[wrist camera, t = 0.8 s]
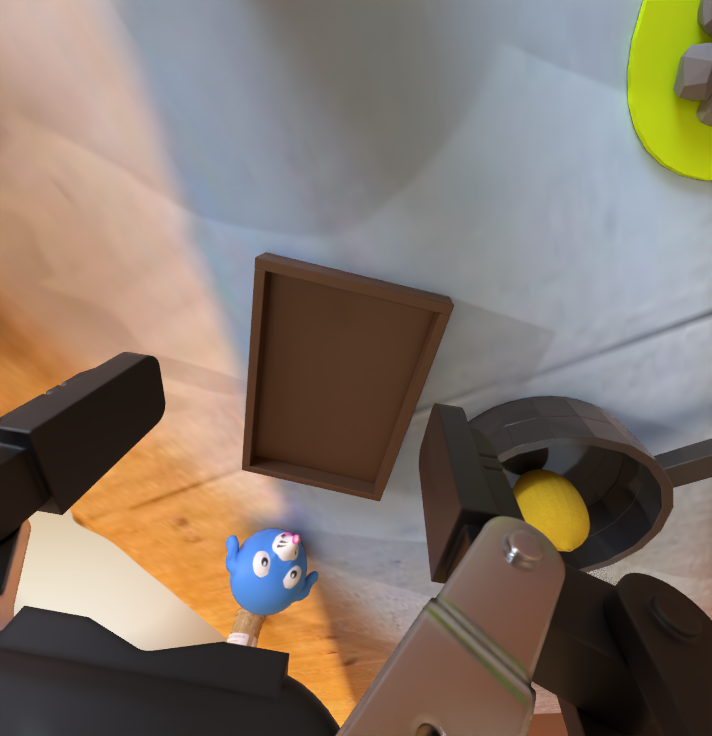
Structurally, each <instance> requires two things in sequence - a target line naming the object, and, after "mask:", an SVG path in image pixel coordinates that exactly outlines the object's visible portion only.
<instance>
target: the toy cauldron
mask: <svg viewBox="0 0 712 736" xmlns="http://www.w3.org/2000/svg"><path fill="white" fill-rule="evenodd" d="M627 86H628V105H629V109H630V113H631V117H632V121H633V125H634V128H635V131H636V133H637V135H638V136H639V138H640V140H641V142H642V144H643V145H644V147H645V149H646V150H647V151H648V152H649V153H650V154H651V155H652V156H653V157H654V158H655V159H656V160H657V161H658V162H659V163H660V164H661V165H662V166H664V167H666V168H667V169H669V170H671V171H673V172H675V173H677V174H679V175H681V176H684V177H689V178H693V179H698V180H702V181H712V0H644V1H643V3H642V6H641V10H640V13H639V17H638V20H637V24H636V27H635V31H634V34H633V37H632V41H631V49H630V56H629V64H628V71H627Z"/></svg>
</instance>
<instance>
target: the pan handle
mask: <svg viewBox="0 0 712 736" xmlns="http://www.w3.org/2000/svg"><path fill="white" fill-rule="evenodd" d="M653 457H654V458H655V459H656V460H657V461H658V462H659V463H660V464H661V466H662V468H663V469H664V471H665V472H666V474H667V475H668V477H669V479H670V480H671V482H672V484H673V488H674V487H678V486H681V485H685V484H689V483H692V482H696V481H699V480H703V479H707V478H710V477H712V439H708V440H705V441H702V442H699V443H695V444H692V445H689V446H686V447H682V448H679V449H676V450H673V451H669V452H666V453H663V454H660V455H656V456H653Z"/></svg>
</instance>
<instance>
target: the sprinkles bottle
mask: <svg viewBox="0 0 712 736" xmlns="http://www.w3.org/2000/svg"><path fill="white" fill-rule="evenodd" d="M264 620H265V617H264V615H256V614H253V613H250V612H248V611H247V610H245V609H244V608H242V609H239V610H238V612H237V615H236V619H235V622H234V624H233V628H232V630H231V633H230V635H229V637H228V640H227V642H228V643H234V644H239V645H245V646H250V647H256V646H257V642H258V637H259V634H260V630H261V627H262V624H263V622H264Z"/></svg>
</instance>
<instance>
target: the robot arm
mask: <svg viewBox="0 0 712 736" xmlns="http://www.w3.org/2000/svg"><path fill="white" fill-rule="evenodd" d="M164 410H165V397H164V391H163V384H162V378H161V372H160V366H159V362H158V360H157V359H156V358H155V357H154V356H149V355H143V354H137V353H131V352H123V353H121V354H119V355H117V356H115V357H114V358H112V359H110V360H108V361H107V362H105V363H103V364H101V365H100V366H98V367H96V368H93V369H90V370H87V371H84V372H81V373H79V374H77V375H75V376H74V377H72V378H70V379H68V380H66V381H65V382H63V383H62V385H61V386H60V385H57V386H56V387H54V388H52V389H50V390H48V391H47V392H46V394H41V395H40V396H38V397H36V398H34V399H32V400H31V401H29V402H27V403H25V404H23V405H22V406H20V407H18V408H16V409H14V410H13V411H11V412H9V413H7V414H6V415H4V416H2V417H0V736H527V733H528V729H529V726H530V723H531V719H532V715H533V711H534V707H535V701H536V692H535V690H534V689H533V688H532V687H531V682H532V681H533V682H534V683H536V684H538V685H540V686H541V687H543V688H545V689H546V690H548V691H550V692H552V693H553V694H555V695H557V698H558V701H559V705H560V708H561V711H562V715H563V718H564V722H565V725H566V728H567V732H568V735H569V736H712V620H711V619H710V618H709V617H708V616H707V615H706V614H705V613H704V611H702V610H701V609H700V608H699V607H698V606H697V605H696V604H695V603H694V602H693V601H692V600H690V599H689V598H688V597H687V596H685V595H684V594H683V593H681V592H680V591H678V590H677V589H675V588H674V587H672V586H671V585H669V584H667V583H665V582H663V581H661V580H660V579H657V578H655V577H652V576H649V575H646V574H641V573H630V574H627V575H625V576H624V577H622V579H621V580H620V581H619V582H618V583H617V584H616V585H615V586H614V585H612V584H610V583H607V582H605V581H603V580H601V579H599V578H596V577H594V576H592V575H590V574H587V573H585V572H583V571H581V570H579V569H576V568H574V567H572V566H570V565H568V564H566V563H565V562H563V560H562V557H561V555H560V553H559V552H558V550H557V548H556V547H555V546H554V545H553V543H552V542H551V541H550V540H549V539H548V538H547V537H546V536H545V535H544V534H543V533H542V532H540V531H539V530H538V529H536V528H535V527H533V526H532V525H530V524H528V523H526V522H525V519H524V517H523V515H522V512H521V510H520V508H519V505H518V503H517V500H516V498H515V496H514V493H513V491H512V489H511V486H510V484H509V481H508V479H507V477H506V474H505V473H504V472H503V467H502V465H501V462H500V460H498V455H497V453H496V451H495V448H494V446H493V443H492V442H491V441H490V439H489V438H488V437H487V436H486V435H485V434H484V433H483V432H482V431H481V430H480V429H479V428H474V427H469V424H468V421H467V418H466V415H465V413H464V410H463V408H461V407H455V406H449V405H443V404H437V403H435V404H434V405H433V408H432V410H431V414H430V417H429V420H428V424H427V427H426V431H425V434H424V438H423V441H422V444H421V449H420V455H419V472H420V481H421V490H422V499H423V508H424V518H425V527H426V536H427V545H428V554H429V564H430V573H431V581H433V582H438V583H444V584H445V585H444V587H443V588H442V590H441V591H440V592H439V594H438V595H437V596H436V598H431V599H430V600H429V601H428V603H427V604H426V605H425V607H424V608H423V609H422V611H421V612H420V614H419V615H418V616H417V618H416V619H415V621H414V622H413V624H412V625H411V627H410V628H409V630H408V631H407V632H406V634H405V635H404V637H403V638H402V640H401V641H400V643H399V644H398V646H397V647H396V648H395V650H394V651H393V653H392V654H391V656H390V657H389V659H388V660H387V661H386V663H385V664H384V666H383V667H382V669H381V670H380V672H379V673H378V675H377V676H376V677H375V679H374V680H373V682H372V683H371V685H370V686H369V688H368V689H367V691H366V692H365V693H364V695H363V696H362V698H361V699H360V701H359V702H358V704H357V705H356V707H355V708H354V709H353V711H352V712H351V714H350V715H349V717H348V718H347V720H346V721H345V722H344V724H343V725H342V727H341V728H340V727H339V725H338V724H337V722H336V721H335V720H334V718H333V717H332V715H331V714H330V712H329V711H328V709H327V708H326V707H325V706H324V705H323V704H322V702H321V701H320V700H319V699H318V698H317V697H316V696H315V695H314V694H313V693H312V692H311V691H310V690H309V689H307V688H306V687H305V686H304V685H303V684H301V683H300V682H298V681H297V680H295V679H293V678H292V677H290V676H288V675H287V674H288V662H289V653H284V652H278V651H273V650H267V649H261V648H256V647H250V646H245V645H239V644H234V643H228V642H217V643H209V644H201V645H193V646H186V647H178V648H170V649H162V650H154V651H144V650H140V649H138V648H136V647H135V646H133V645H132V644H130V643H129V642H127V641H125V640H124V639H122V638H121V637H119V636H117V635H116V634H114V633H113V632H111V631H109V630H108V629H106V628H105V627H103V626H101V625H100V624H98V623H97V622H95V621H94V620H92V619H91V618H89V617H84V616H79V615H73V614H68V613H62V612H57V611H51V610H45V609H40V608H34V607H29V606H24V607H23V608H22V609H21V610H20V611H19V612H18V613H17V614H16V616H15V617H14V603H15V599H16V594H17V590H18V585H19V581H20V576H21V572H22V568H23V563H24V559H25V554H26V550H27V545H28V540H29V536H30V532H31V525H30V522H29V520H28V518H29V517H30V516H31V515H33V514H34V513H35V512H36V511H42V512H48V513H54V514H59V515H63V514H64V513H65V512H66V511H67V510H68V509H69V508H70V507H71V506H72V505H73V504H74V503H75V502H76V501H77V500H78V499H80V498H81V497H82V496H83V495H84V494H85V493H86V492H87V491H88V490H89V489H90V488H91V487H92V486H93V485H94V484H95V483H96V482H97V481H98V480H99V479H100V478H101V477H102V476H103V475H104V474H105V473H107V472H108V471H109V470H110V469H111V468H112V467H113V466H114V465H115V464H116V463H117V462H118V461H119V460H120V459H121V458H122V457H123V456H124V455H125V454H126V453H127V452H128V451H129V450H130V449H131V448H133V447H134V446H135V445H136V444H137V443H138V442H139V441H140V440H141V439H142V438H143V437H144V436H145V435H146V434H147V433H148V432H149V431H150V430H151V429H152V428H153V427H154V426H155V425H156V424H157V423H158V422H159V421H160V420H161V418H162V416H163V413H164Z"/></svg>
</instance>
